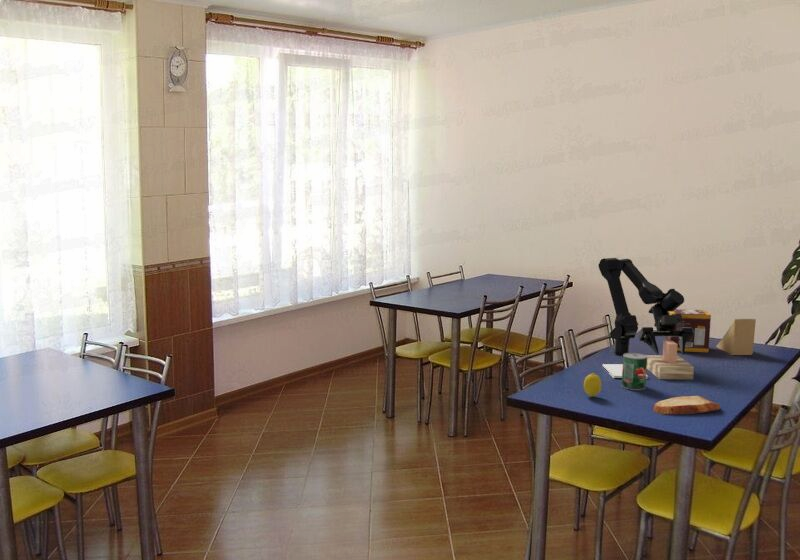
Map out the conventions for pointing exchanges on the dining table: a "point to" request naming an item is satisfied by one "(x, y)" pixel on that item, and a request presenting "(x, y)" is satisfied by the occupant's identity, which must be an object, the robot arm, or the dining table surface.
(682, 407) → the slice of bread
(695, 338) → the supplement box
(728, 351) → the sandwich container
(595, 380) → the lemon
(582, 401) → the dining table surface
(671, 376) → the slot box
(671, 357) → the pink rectangular block
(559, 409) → the dining table surface
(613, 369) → the mat
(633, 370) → the canned tomato
